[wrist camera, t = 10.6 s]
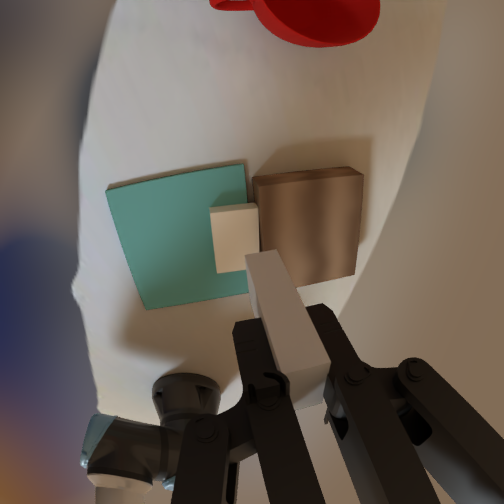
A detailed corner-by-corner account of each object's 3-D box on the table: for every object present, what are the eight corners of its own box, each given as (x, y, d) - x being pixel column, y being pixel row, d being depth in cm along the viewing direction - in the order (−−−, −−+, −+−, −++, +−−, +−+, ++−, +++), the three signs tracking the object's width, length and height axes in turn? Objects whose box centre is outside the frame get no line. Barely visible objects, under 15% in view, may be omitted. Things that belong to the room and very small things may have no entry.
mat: (146, 307, 44) (146, 310, 44) (106, 190, 33) (105, 191, 33) (256, 288, 46) (257, 290, 45) (242, 163, 35) (243, 164, 35)
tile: (215, 265, 42) (217, 273, 40) (209, 207, 37) (210, 213, 35) (256, 260, 43) (259, 267, 41) (255, 202, 38) (258, 208, 36)
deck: (261, 277, 45) (267, 293, 42) (252, 177, 37) (258, 186, 33) (343, 260, 47) (354, 274, 43) (349, 166, 38) (363, 174, 35)
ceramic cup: (198, -23, 21) (201, -58, 13) (329, -26, 23) (367, -50, 14) (215, 65, 28) (223, 53, 20) (345, 54, 30) (390, 49, 21)
